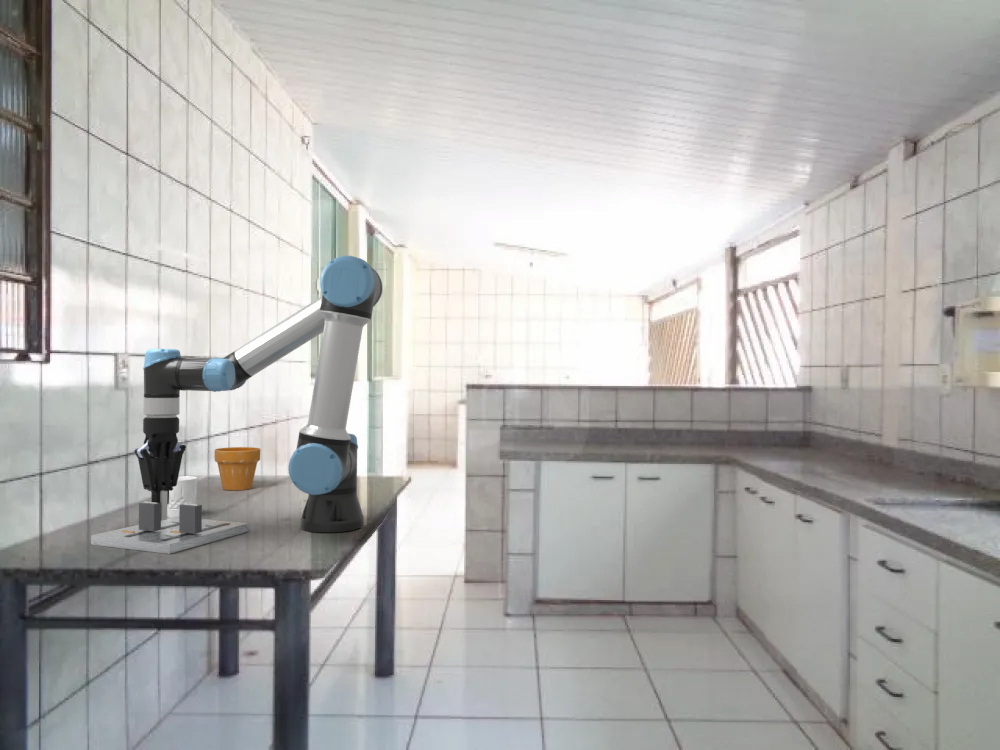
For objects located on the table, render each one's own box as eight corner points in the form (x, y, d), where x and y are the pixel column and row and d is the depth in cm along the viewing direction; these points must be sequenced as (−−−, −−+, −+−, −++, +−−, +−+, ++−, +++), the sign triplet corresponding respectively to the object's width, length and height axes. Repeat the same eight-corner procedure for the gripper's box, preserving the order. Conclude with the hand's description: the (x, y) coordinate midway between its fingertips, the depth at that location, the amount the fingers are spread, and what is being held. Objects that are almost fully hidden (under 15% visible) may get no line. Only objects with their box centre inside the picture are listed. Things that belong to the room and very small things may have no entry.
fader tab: (160, 529, 167) (161, 502, 167) (153, 531, 165) (154, 503, 165) (145, 528, 168) (146, 500, 168) (138, 529, 166) (139, 502, 166)
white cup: (184, 519, 190) (185, 480, 190) (157, 518, 192) (158, 479, 192) (203, 514, 198) (203, 476, 198) (176, 512, 200) (177, 475, 200)
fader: (201, 532, 165) (201, 504, 165) (194, 533, 163) (195, 505, 163) (186, 530, 166) (186, 502, 166) (179, 532, 164) (179, 504, 164)
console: (247, 531, 176) (247, 522, 176) (169, 554, 154) (169, 543, 154) (175, 524, 184) (175, 515, 184) (91, 544, 162) (91, 534, 162)
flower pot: (226, 485, 251) (227, 446, 251) (267, 486, 249) (267, 447, 249) (205, 491, 237) (206, 450, 237) (248, 492, 235) (249, 451, 235)
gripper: (171, 414, 177) (169, 513, 177) (125, 417, 165) (123, 523, 165) (195, 415, 174) (194, 516, 174) (151, 418, 162) (149, 526, 162)
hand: (160, 519), depth 170 cm, fingers closed
